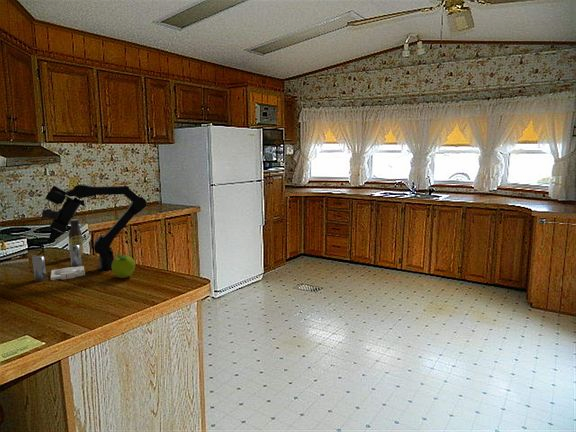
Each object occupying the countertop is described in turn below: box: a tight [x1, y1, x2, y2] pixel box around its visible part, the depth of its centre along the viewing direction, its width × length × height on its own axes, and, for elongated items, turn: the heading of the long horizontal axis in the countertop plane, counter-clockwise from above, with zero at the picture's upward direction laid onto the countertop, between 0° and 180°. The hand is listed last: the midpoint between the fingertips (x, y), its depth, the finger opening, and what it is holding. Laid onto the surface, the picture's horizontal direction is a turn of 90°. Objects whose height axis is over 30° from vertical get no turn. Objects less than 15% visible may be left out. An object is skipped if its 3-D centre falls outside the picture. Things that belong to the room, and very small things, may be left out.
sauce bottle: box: [68, 218, 84, 259], centre depth 209 cm, size 6×6×20 cm
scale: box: [50, 265, 86, 281], centre depth 179 cm, size 13×15×2 cm
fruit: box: [111, 253, 136, 279], centre depth 173 cm, size 9×9×10 cm
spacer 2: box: [68, 245, 83, 267], centre depth 193 cm, size 4×4×10 cm
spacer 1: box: [31, 255, 48, 282], centre depth 172 cm, size 4×4×10 cm
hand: (49, 241), depth 176 cm, fingers open, 9 cm apart
